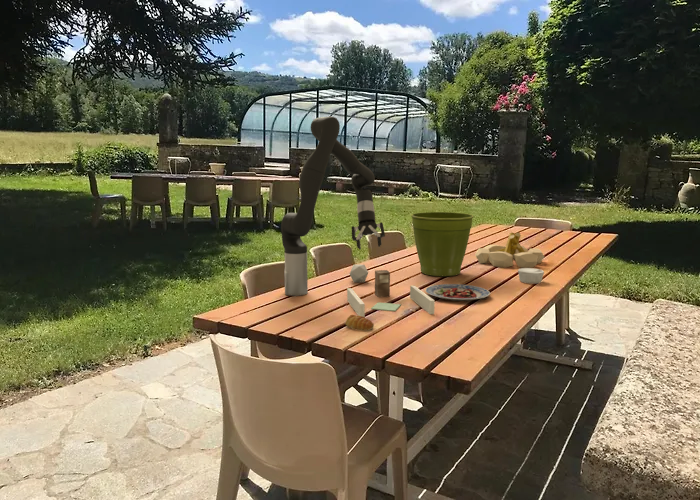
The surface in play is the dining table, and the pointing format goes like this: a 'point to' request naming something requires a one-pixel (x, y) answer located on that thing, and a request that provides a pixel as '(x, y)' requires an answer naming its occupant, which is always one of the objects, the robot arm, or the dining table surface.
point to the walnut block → (382, 283)
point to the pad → (386, 306)
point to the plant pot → (441, 241)
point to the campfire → (510, 254)
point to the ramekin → (530, 275)
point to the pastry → (359, 323)
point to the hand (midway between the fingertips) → (369, 247)
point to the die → (358, 273)
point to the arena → (415, 295)
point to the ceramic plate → (457, 292)
